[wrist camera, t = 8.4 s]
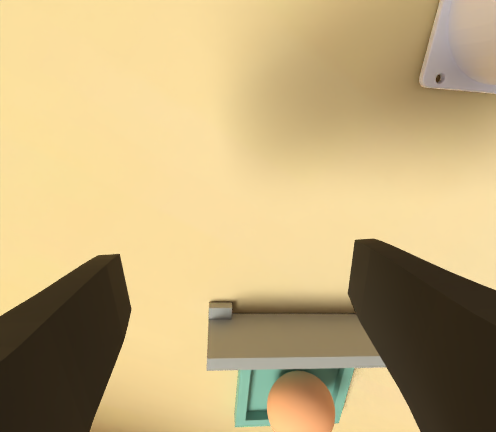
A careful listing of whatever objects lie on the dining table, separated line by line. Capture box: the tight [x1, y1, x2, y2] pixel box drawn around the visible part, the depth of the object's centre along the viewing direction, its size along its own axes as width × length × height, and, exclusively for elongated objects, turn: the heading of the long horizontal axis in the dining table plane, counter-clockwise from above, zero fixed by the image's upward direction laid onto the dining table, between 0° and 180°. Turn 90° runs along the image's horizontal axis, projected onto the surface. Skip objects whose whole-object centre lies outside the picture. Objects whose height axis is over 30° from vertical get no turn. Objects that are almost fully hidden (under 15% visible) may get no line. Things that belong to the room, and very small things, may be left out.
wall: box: [207, 302, 386, 371], centre depth 22 cm, size 14×3×4 cm, turn 86°
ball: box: [267, 371, 335, 432], centre depth 23 cm, size 5×5×5 cm
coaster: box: [235, 368, 354, 427], centre depth 25 cm, size 9×9×1 cm
